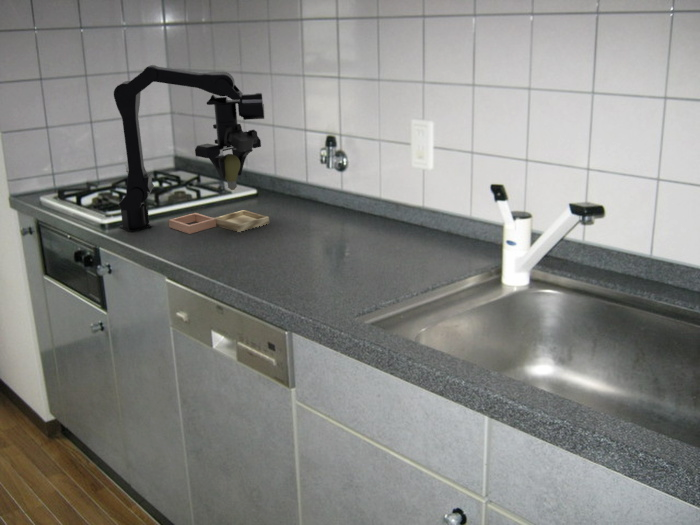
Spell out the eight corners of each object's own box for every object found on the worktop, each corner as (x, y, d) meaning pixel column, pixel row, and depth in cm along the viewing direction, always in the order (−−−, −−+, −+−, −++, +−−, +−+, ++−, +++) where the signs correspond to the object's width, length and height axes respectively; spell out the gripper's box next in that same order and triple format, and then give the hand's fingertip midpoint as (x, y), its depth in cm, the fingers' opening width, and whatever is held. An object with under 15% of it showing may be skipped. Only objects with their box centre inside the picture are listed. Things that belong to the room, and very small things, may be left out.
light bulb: (218, 191, 212) (215, 155, 208) (227, 186, 217) (224, 151, 213) (237, 192, 210) (234, 156, 207) (245, 187, 215) (242, 152, 212)
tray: (239, 232, 210) (238, 225, 209) (213, 224, 217) (213, 218, 216) (269, 223, 217) (269, 217, 217) (243, 216, 224) (243, 209, 224)
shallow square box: (189, 234, 209) (188, 226, 208) (169, 227, 215) (168, 219, 214) (216, 226, 215) (215, 218, 215) (196, 220, 221) (195, 212, 221)
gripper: (217, 128, 195) (223, 188, 201) (272, 118, 208) (276, 174, 213) (191, 124, 202) (197, 182, 208) (245, 114, 215) (249, 169, 220)
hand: (231, 177), depth 212 cm, fingers closed on light bulb, 5 cm apart
